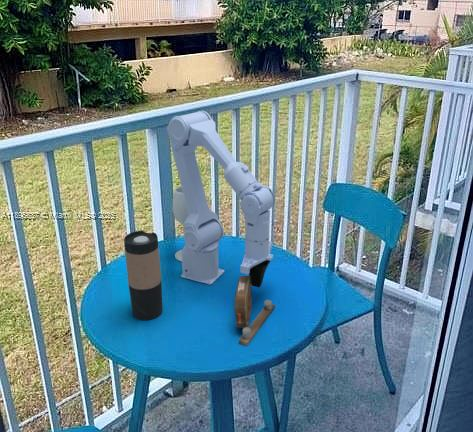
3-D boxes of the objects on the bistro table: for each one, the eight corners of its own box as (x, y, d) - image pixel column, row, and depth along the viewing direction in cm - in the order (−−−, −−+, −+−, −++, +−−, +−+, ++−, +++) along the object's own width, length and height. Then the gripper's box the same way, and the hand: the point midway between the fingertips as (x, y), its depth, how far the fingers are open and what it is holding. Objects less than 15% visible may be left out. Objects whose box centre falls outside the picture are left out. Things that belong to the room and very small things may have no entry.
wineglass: (172, 262, 138) (168, 194, 129) (177, 248, 146) (173, 183, 137) (202, 262, 137) (200, 194, 129) (205, 249, 145) (203, 184, 137)
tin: (247, 335, 107) (247, 303, 103) (233, 334, 107) (233, 303, 104) (252, 298, 120) (253, 269, 117) (240, 297, 121) (240, 268, 117)
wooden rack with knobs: (238, 343, 104) (238, 333, 103) (267, 305, 117) (267, 296, 116) (246, 345, 103) (247, 336, 102) (274, 307, 116) (275, 298, 115)
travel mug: (136, 324, 110) (128, 247, 103) (127, 307, 117) (119, 234, 109) (168, 315, 114) (162, 240, 106) (157, 299, 120) (151, 227, 112)
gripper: (260, 253, 106) (259, 304, 112) (283, 228, 118) (282, 275, 124) (232, 246, 109) (232, 297, 115) (257, 223, 121) (257, 269, 127)
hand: (256, 285), depth 119 cm, fingers closed
